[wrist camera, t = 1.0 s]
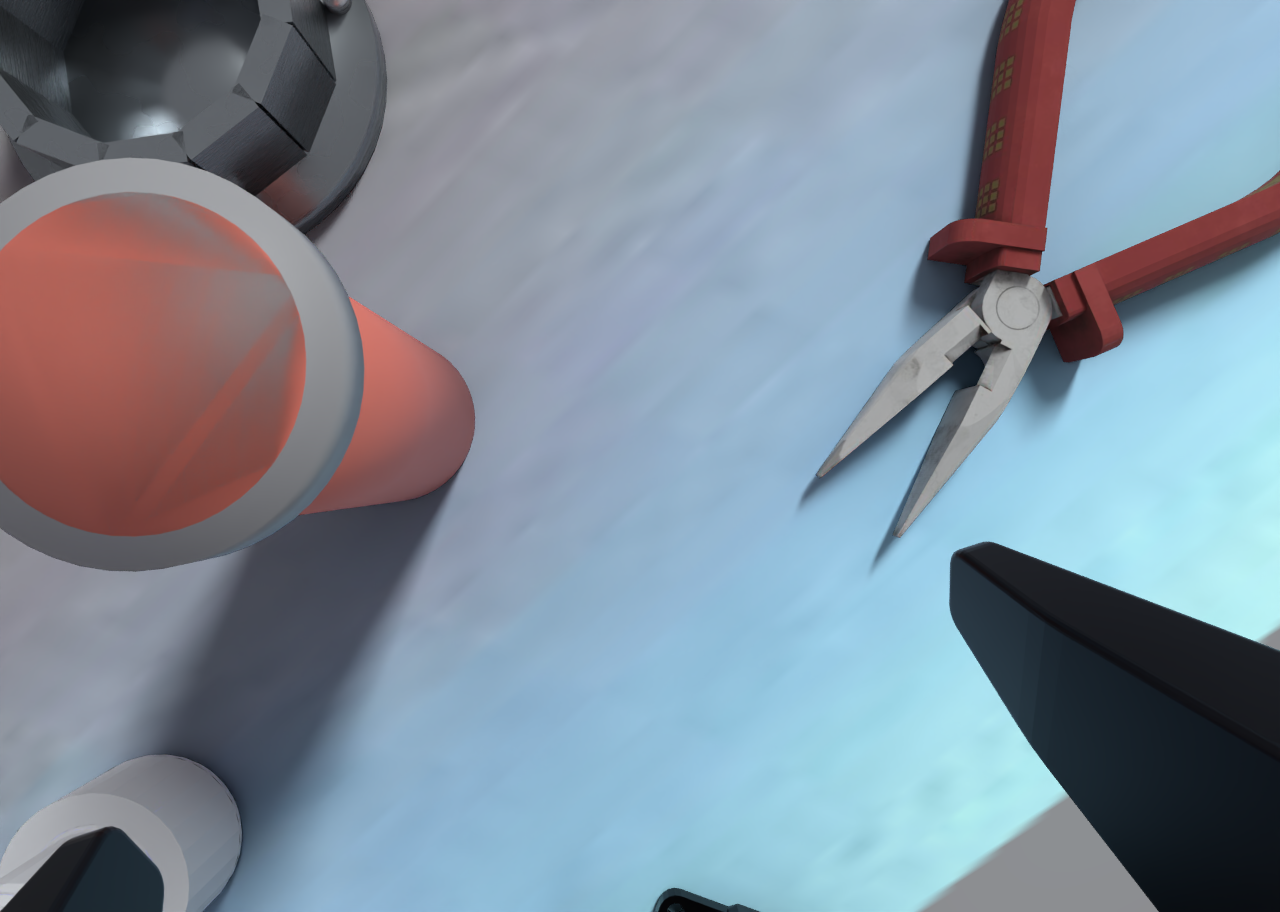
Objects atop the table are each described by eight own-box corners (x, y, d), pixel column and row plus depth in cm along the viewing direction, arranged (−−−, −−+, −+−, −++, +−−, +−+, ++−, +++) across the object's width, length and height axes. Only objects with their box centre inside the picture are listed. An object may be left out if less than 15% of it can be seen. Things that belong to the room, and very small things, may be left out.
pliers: (695, 391, 24) (704, 381, 21) (1084, -118, 25) (1141, -192, 22) (993, 619, 24) (1040, 638, 22) (1373, 105, 25) (1465, 60, 22)
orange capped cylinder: (450, 545, 23) (250, 631, 11) (266, 476, 23) (-144, 483, 11) (519, 365, 24) (401, 245, 11) (338, 295, 23) (13, 96, 11)
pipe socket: (308, 315, 23) (244, 284, 19) (-34, 185, 23) (-170, 126, 19) (440, -18, 24) (402, -116, 20) (102, -148, 24) (-5, -274, 20)
